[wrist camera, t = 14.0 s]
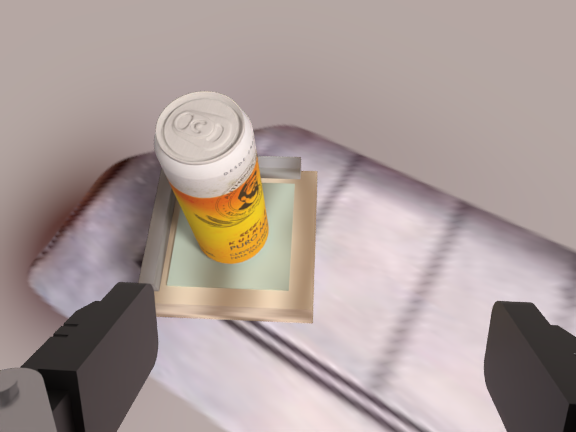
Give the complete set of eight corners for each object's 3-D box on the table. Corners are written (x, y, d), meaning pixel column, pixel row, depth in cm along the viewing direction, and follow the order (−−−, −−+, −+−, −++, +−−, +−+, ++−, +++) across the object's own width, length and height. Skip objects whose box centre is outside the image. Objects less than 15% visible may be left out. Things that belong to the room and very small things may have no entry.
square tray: (316, 190, 49) (317, 157, 44) (312, 323, 43) (313, 302, 38) (177, 186, 50) (162, 153, 45) (153, 316, 44) (133, 295, 39)
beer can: (248, 278, 41) (219, 183, 27) (185, 250, 42) (128, 146, 29) (281, 218, 43) (268, 104, 30) (220, 193, 44) (182, 74, 31)
